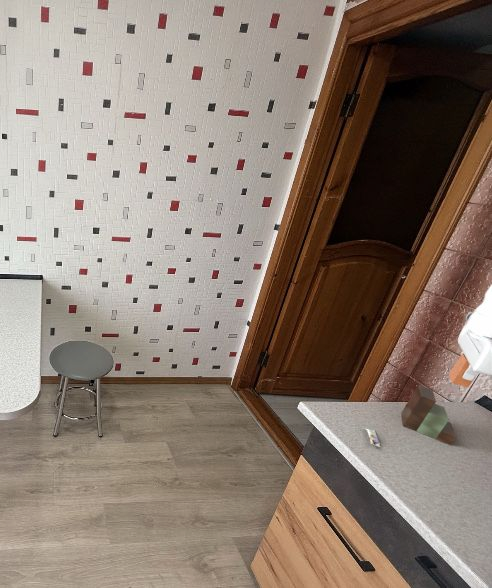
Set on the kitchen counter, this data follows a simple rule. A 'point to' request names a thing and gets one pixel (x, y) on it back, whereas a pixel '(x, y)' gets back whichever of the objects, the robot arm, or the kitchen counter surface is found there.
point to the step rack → (427, 416)
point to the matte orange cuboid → (460, 372)
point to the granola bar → (373, 437)
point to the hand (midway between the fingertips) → (463, 372)
